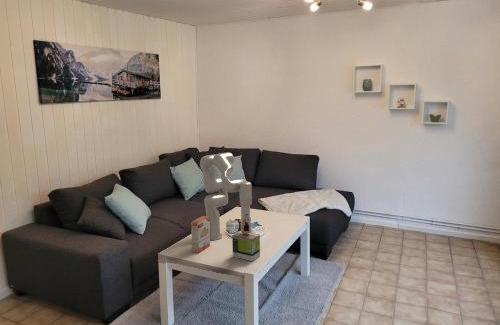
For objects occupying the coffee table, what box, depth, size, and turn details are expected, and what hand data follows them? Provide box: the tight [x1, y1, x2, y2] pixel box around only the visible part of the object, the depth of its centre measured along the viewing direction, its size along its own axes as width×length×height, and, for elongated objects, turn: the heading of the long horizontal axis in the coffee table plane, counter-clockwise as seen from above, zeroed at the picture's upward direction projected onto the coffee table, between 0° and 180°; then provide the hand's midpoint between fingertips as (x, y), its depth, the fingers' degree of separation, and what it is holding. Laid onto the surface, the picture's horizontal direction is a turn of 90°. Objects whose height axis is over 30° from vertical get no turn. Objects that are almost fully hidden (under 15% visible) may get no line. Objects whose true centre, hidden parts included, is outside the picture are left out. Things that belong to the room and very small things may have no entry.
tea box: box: [231, 230, 261, 262], centre depth 245 cm, size 15×10×15 cm
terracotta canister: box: [240, 217, 252, 234], centre depth 243 cm, size 6×6×9 cm
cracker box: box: [190, 215, 211, 254], centre depth 257 cm, size 14×6×21 cm, turn 153°
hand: (246, 228), depth 243 cm, fingers closed on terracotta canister, 6 cm apart
